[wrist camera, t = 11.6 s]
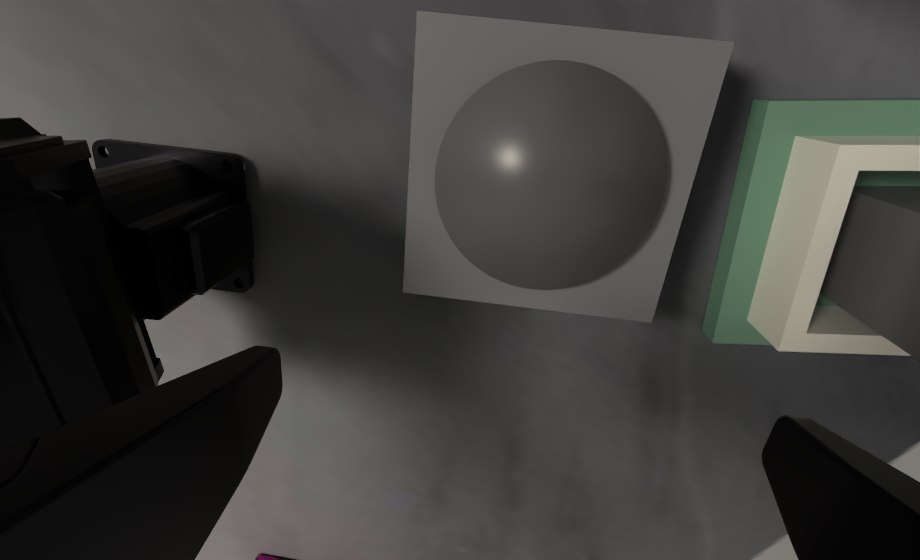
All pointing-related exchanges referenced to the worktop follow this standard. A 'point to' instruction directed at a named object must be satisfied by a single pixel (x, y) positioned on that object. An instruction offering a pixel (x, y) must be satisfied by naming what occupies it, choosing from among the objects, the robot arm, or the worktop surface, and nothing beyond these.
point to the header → (804, 219)
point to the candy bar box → (267, 558)
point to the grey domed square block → (553, 161)
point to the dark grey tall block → (880, 263)
